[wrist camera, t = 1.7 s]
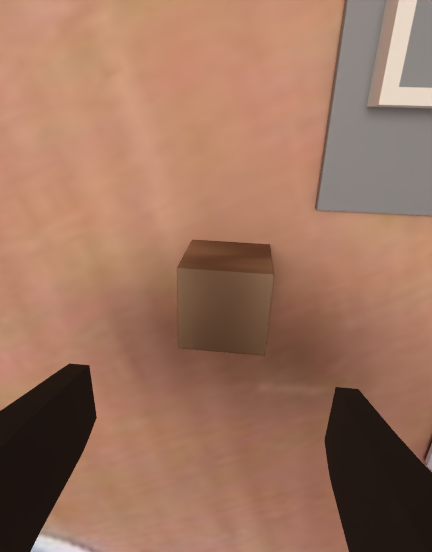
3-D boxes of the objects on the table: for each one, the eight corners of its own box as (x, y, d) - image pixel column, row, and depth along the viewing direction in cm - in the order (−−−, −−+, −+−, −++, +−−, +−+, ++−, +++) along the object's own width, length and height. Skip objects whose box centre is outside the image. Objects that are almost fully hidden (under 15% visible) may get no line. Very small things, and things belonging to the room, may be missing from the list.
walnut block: (269, 243, 18) (273, 274, 14) (262, 312, 19) (265, 355, 16) (192, 239, 18) (177, 268, 15) (191, 306, 20) (178, 348, 16)
